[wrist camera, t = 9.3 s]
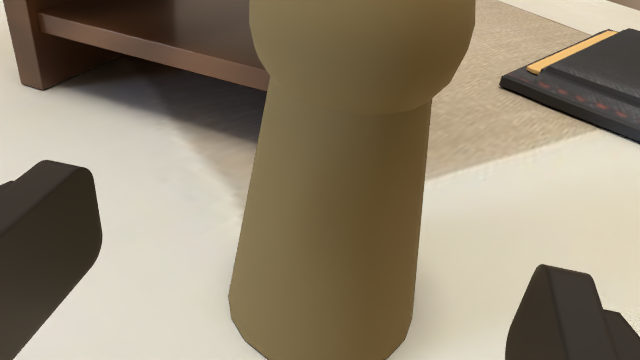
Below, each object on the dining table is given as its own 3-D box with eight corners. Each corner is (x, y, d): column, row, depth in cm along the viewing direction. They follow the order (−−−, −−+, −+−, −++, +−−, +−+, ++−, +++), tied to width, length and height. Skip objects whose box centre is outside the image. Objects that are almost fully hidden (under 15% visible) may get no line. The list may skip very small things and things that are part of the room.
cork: (360, 413, 14) (461, -12, 8) (187, 311, 16) (167, -78, 10) (438, 283, 19) (540, -52, 13) (294, 217, 21) (323, -93, 15)
